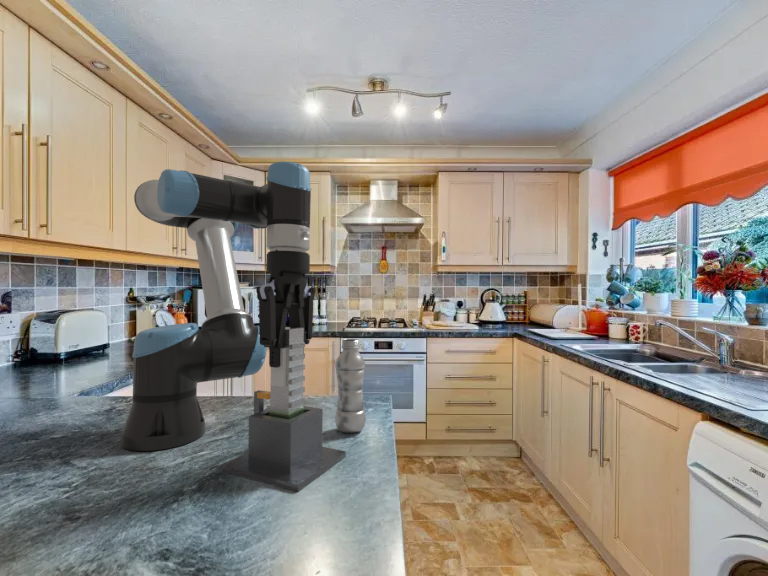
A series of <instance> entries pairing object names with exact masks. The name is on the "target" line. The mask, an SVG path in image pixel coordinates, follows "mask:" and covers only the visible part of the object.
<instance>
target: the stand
mask: <svg viewBox="0 0 768 576" xmlns="http://www.w3.org/2000/svg"><path fill="white" fill-rule="evenodd" d="M270 395H271V391H267V390H255V391H254V392H253V414H251V415H249V416H248V451H247V452H246V453H244V454H241V455H239V456H237V457H234V458H232V459H231V460H229V461H227V462H224V463H223V464H221V472H223V473H224V472H225V473H228V474H231V475H235V476H239V477H243V478H246V479H249V480H253V481H257V482H260V483H263V484H264V483H265V484H268V485H272V486H276V487H279V488H283V489H287V490H290V491H294V492H300V491H301V490H303V489H304V488H306V487H307V486H308V485H310V484H311V483H312V482H314V481H315V480H316V479H318V478H319V477H320V476H322V475H323V474H325V473H326V472H327V471H328V470H330V469H332V468H333V467H334V466H335V465H337V464H338V463H340V462H341V461H342V460H344V459H345V458H346V457H347V455H346V453H347V452H346V451H345V450H340V449H336V448H331V447H327V446H323V414H324V413H323V408H319V407H313V406H312V407H311V406H306V405H303V407H304V413H303V414H301V415H299V416H297V417H294V418H292V419H290V420H288V419H283V418H277V417H271V416H269V410H270V408H269V407H268V408H266V409H264V407H265V406H264V403H265V400H270Z"/></svg>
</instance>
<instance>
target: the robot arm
mask: <svg viewBox="0 0 768 576" xmlns="http://www.w3.org/2000/svg"><path fill="white" fill-rule="evenodd" d="M266 181H267V182H266V184H263V185H262V186H257V185H253V184H247V183H243V182H238V181H232V180H227V179H222V178H216V177H211V176H206V175H203V174H198V173H192V172H190V171H186V170H176V169H170V168H167V169H164V170H162V171H161V173H160V176H159V178H158V179H151V180H146V181H144V182H143V183H141V184H139V186H138V187H137V189H136V190H135V192H134V194H133V195H134V196H133V200H134V204H135V207H136V209H137V211H138V212H139V213H140V214H141V215H142V216H143V217H145V218H146V219H148V220H150V221H152V222H154V223H157V224H160V225H164V226H168V227H176V228H182V229H183V228H184V229H186V231H187V236H188V237H189V238H190V240H192V241H194V242H195V247H196V253H197V254H196V255H197V260H198V267H199V273H200V280H201V285H202V293H203V299H204V305H205V306H204V307H205V312H206V319H205V320H203V322H202V324H201V329H200V328H199V326H198V324H197V323H195V322H185V323H175V324H168V325H161V326H156V327H151V328H147V329H144V330H141V331H140V332H138V333H137V334H136V335H135V337H134V342H133V351H132V356H131V357H132V358H133V365H132V366H133V369H132V371H133V374H132V375H133V377H132V378H133V379H132V403H131V404H132V405H131V407H130V410H129V413H128V414H127V419H125V423H124V427H123V429H122V430H121V435H120V436H121V438H120V439H121V443H120V445H121V447H122V448H123V449H125V450H127V451H133V452H134V451H135V452H149V451H150V452H151V451H152V452H153V451H161V450H166V449H172V448H176V447H180V446H184V445H186V444H189V443H192V442H194V441H196V440H198V439H200V438H201V437H203V436H204V434H205V433H206V421H205V418H204V416H203V412H202V409H201V405H200V402H199V400H198V396H197V391H198V390H197V389H198V388H197V387H198V383H204V382H205V383H206V382H213V381H220V380H228V379H233V378H234V379H236V378H239V379H241V378H243V377H246V376H251V375H252V376H253V375H256V374H257V373H259V372H260V370H261V369H262V367H263V366H264V363H265V361H266V356H267V351H269V352H268V354H269V355H268V360H269V361H268V364H269V368H270V386H271V385H272V386H280V387H284V386H286V348H282V346H283V341H284V334H285V327H287V326H286V325H287V318H288V320H289V322H288V323H289V327H298V328H304V342H305V345H309V344H310V340H312V339H313V320H314V319H313V317H314V315H313V314H314V299H315V294H316V288H315V287H309V286H308V285H307V281H306V277H305V276H306V275H307V274H310V271H311V260H310V259H311V255H310V254H309V253H308V252H307V251H309V250H310V247H311V246H310V245H311V244H310V243H311V242H310V239H311V238H310V237H311V236H310V233H311V232H310V230H311V229H310V228H311V227H310V226H311V203H312V202H311V201H312V200H311V198H312V197H311V196H312V195H311V193H312V192H311V191H312V188H311V173H310V170H309V169H308V168H307V167H306V166H304V165H303V164H301V163H297V162H293V161H276V162H273V163H271V164H270V165H269V166H268V168H267V176H266ZM239 224H244V225H245V226H246V227H249V228H251V229H255V230H256V229H258V230H259V229H261V230H262V229H263V230H264V229H266V243H265V244H266V249H267V250H269V251H268V252H267V253H266V263H265V264H266V272H267V274H270V276H269V280H268V282H267V284H265V285H258V286H257V287H256V290H255V291H256V294H257V298H258V310H259V311H258V313H259V315H258V322H259V324H258V325H255V324H254V323H255V322H254V319H253V316H252V315H251V314H249V313H247V312H246V310H245V307H244V301H243V296H242V291H241V286H240V281H239V277H238V276H239V275H238V271H237V266H236V260H235V255H234V252H233V251H234V250H233V246H232V241H231V240H232V239H231V238H232V237H233V235H234V234H235V232H236V231H237V230H238V227H239ZM304 360H305V358H303V361H304Z"/></svg>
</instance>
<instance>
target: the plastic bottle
mask: <svg viewBox="0 0 768 576" xmlns="http://www.w3.org/2000/svg"><path fill="white" fill-rule="evenodd" d="M341 342H342V343H341V349H342V351H341V352H340V354H339V355H338V357H337V358H336V360H335V373H336V381H337V405H336V407H337V408H336V411H335V419H334V420H335V421H334V422H335V427H336V428H337V430H338V431H339V432H340V433H341V432H342V433H345V434H346V433H359V432H361V431H362V430H363V429H364V428H365V427H366V426H365V424H366V412H365V408H364V397H363V396H364V395H363V391H364V390H363V387H364V377H365V370H366V369H365V368H366V363H365V360H364V358H363V356H362V354H361V353H360V352H359V349H360V340H359V339H355V338H344V339H342V341H341Z"/></svg>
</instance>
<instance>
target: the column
mask: <svg viewBox="0 0 768 576" xmlns="http://www.w3.org/2000/svg"><path fill="white" fill-rule="evenodd" d="M305 347H306V344H305V342H304V328H298V327H290V326H286V327H285V334H284V341H283V346H282V348H286V386H284V387H280V386H272V385H271V384H270V392H271V395H270V399H269V400H270V401H269V405H270V410H269V416H271V417H277V418H283V419H288V420H290V419H292V418H294V417H297V416H299V415H301V414H303V413H304V407H303V406H304V404H305V403H306V402H305V401H306V400H305V397H304V393H305V392H306V390H305V389H306V387H305V386H304V382H305V380H306V376H305V375H304V370H306V364H304V360H303V358H304V359H306V353H305Z"/></svg>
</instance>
